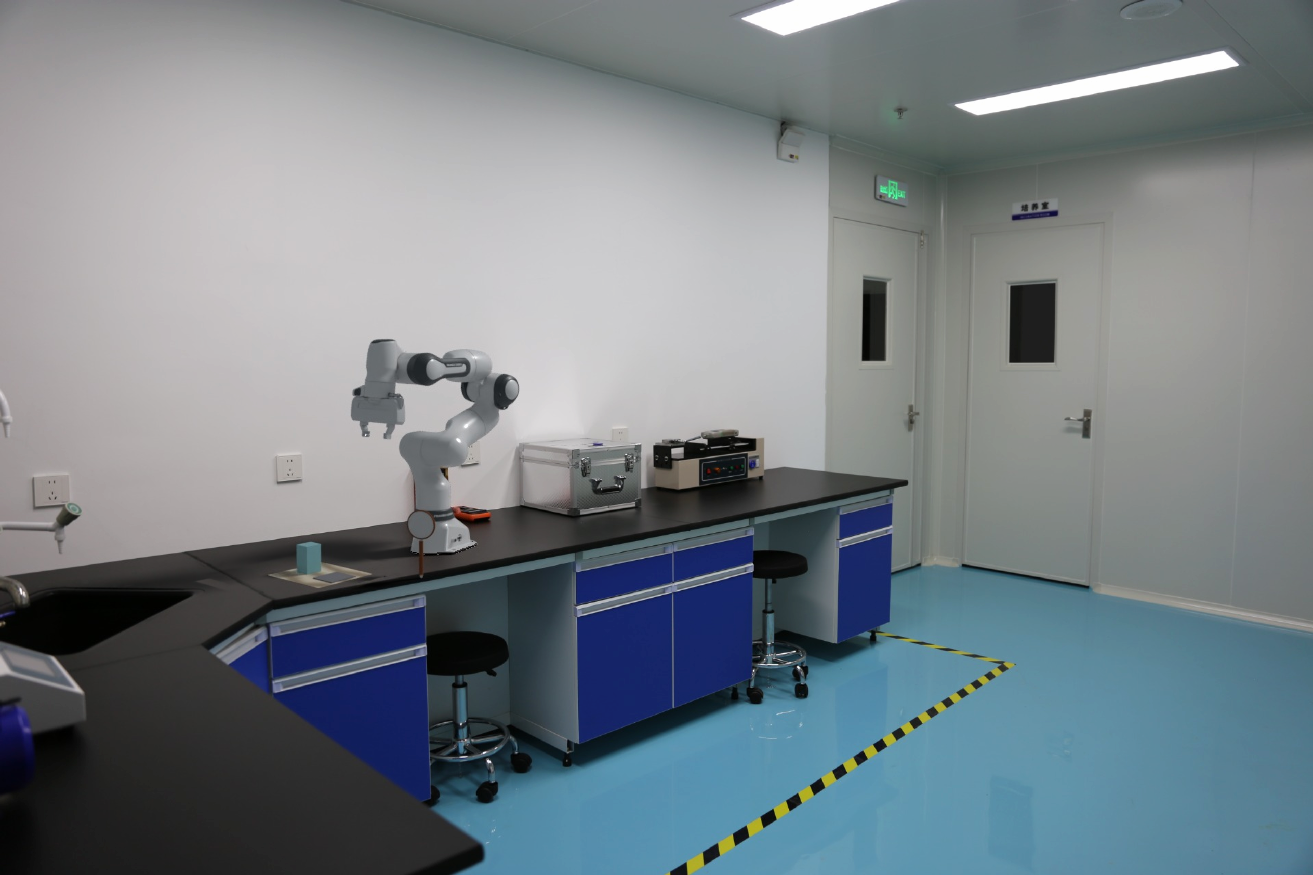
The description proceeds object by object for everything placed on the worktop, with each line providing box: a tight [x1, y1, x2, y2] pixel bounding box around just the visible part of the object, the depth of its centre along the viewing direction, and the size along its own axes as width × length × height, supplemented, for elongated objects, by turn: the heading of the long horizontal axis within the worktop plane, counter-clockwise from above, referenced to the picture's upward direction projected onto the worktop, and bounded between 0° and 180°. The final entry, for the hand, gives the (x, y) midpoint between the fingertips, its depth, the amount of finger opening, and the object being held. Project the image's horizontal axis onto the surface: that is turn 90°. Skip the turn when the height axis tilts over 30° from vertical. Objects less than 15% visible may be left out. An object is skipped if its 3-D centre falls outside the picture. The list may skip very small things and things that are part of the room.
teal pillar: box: [296, 541, 322, 575], centre depth 241 cm, size 5×5×8 cm
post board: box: [268, 561, 372, 589], centre depth 238 cm, size 18×22×6 cm
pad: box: [313, 572, 356, 583], centre depth 235 cm, size 8×8×1 cm
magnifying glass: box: [406, 510, 435, 579], centre depth 242 cm, size 9×2×20 cm, turn 79°
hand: (376, 438), depth 253 cm, fingers open, 8 cm apart
